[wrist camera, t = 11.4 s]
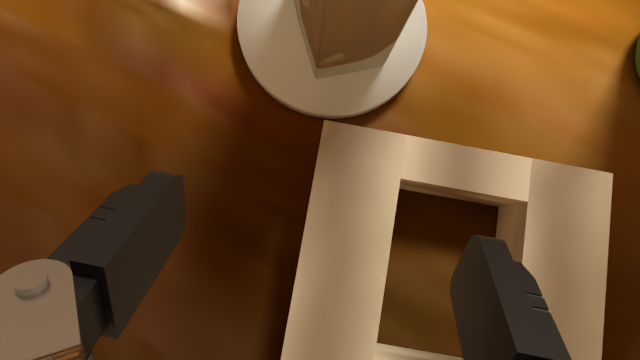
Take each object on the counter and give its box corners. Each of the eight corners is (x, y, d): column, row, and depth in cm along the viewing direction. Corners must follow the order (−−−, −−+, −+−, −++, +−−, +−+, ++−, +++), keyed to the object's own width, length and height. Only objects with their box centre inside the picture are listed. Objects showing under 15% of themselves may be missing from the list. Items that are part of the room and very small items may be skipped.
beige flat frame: (573, 181, 24) (613, 173, 21) (555, 418, 21) (596, 447, 19) (321, 135, 23) (324, 119, 20) (278, 371, 21) (274, 392, 18)
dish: (432, -34, 25) (438, -45, 24) (408, 134, 23) (413, 129, 22) (259, -67, 25) (258, -80, 24) (221, 99, 23) (218, 93, 22)
